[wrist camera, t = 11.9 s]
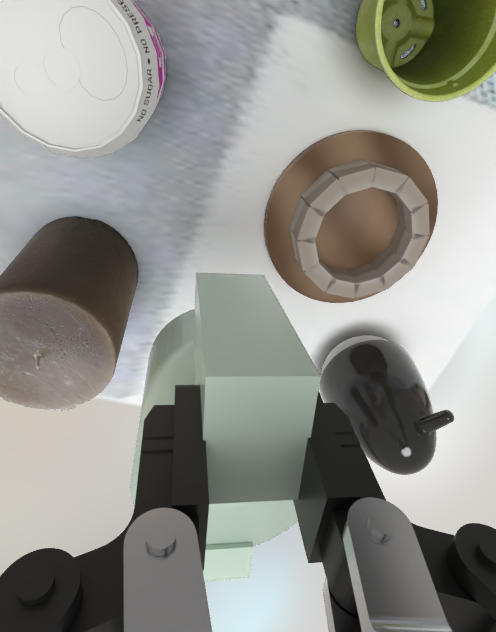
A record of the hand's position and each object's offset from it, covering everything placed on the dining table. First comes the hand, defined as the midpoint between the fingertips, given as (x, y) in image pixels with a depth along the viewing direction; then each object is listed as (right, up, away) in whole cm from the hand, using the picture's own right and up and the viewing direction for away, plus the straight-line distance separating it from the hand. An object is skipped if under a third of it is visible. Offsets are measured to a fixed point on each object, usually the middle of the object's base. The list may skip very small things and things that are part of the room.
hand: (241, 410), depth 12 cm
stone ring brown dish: (+10, +11, +29) cm, 32 cm away
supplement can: (-10, +21, +20) cm, 31 cm away
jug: (-2, 0, +10) cm, 10 cm away
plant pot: (+11, +25, +21) cm, 34 cm away
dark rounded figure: (+12, -2, +38) cm, 40 cm away
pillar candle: (-15, +7, +28) cm, 33 cm away
